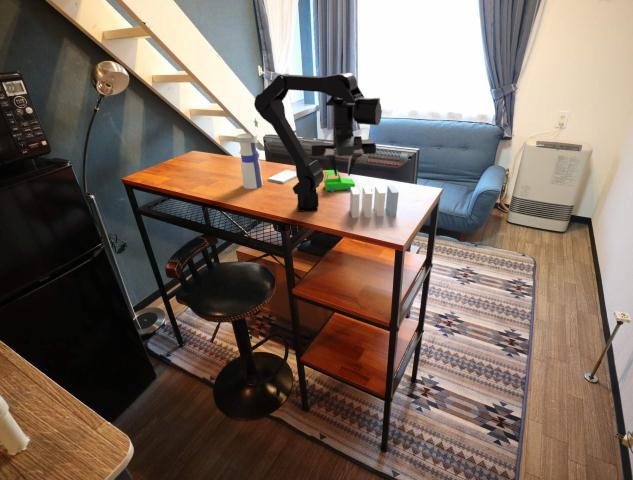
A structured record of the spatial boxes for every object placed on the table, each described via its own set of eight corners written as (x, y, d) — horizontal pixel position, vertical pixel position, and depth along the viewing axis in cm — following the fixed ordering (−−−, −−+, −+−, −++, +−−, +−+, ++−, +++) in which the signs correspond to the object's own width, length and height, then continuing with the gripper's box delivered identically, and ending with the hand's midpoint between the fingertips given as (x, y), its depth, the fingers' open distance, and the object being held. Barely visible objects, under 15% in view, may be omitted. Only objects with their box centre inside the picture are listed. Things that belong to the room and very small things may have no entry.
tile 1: (352, 217, 109) (353, 194, 105) (349, 209, 114) (350, 187, 110) (358, 217, 109) (359, 194, 105) (355, 209, 114) (356, 186, 110)
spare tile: (390, 216, 109) (392, 192, 105) (385, 208, 114) (387, 185, 110) (396, 215, 109) (398, 192, 105) (391, 207, 114) (393, 185, 110)
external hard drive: (267, 181, 140) (286, 172, 149) (283, 185, 136) (301, 176, 145) (267, 178, 139) (286, 169, 148) (283, 181, 135) (301, 172, 144)
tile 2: (364, 217, 109) (365, 193, 105) (361, 209, 114) (362, 186, 110) (371, 217, 109) (372, 193, 105) (367, 208, 114) (368, 186, 110)
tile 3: (377, 216, 109) (379, 193, 105) (373, 208, 114) (375, 186, 110) (383, 216, 109) (385, 193, 105) (379, 208, 114) (381, 185, 110)
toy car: (325, 192, 128) (325, 175, 124) (323, 186, 133) (323, 169, 130) (355, 190, 128) (356, 173, 125) (351, 184, 134) (352, 167, 131)
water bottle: (252, 180, 140) (244, 116, 128) (268, 184, 136) (261, 118, 123) (237, 186, 135) (227, 120, 122) (253, 190, 130) (244, 122, 118)
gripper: (311, 130, 90) (312, 186, 97) (382, 127, 90) (378, 183, 98) (309, 121, 99) (311, 173, 107) (373, 119, 100) (370, 171, 108)
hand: (342, 175), depth 105 cm, fingers open, 4 cm apart
